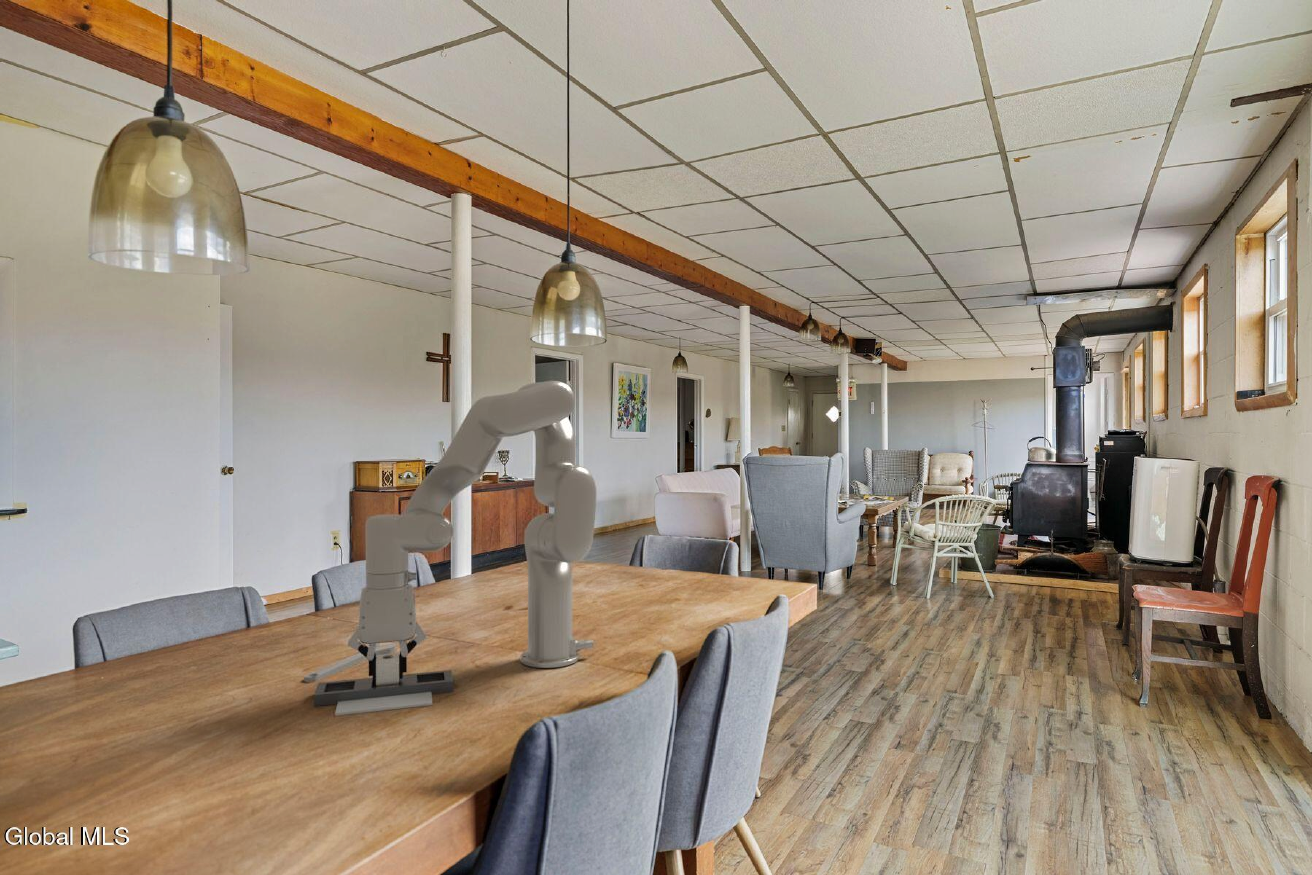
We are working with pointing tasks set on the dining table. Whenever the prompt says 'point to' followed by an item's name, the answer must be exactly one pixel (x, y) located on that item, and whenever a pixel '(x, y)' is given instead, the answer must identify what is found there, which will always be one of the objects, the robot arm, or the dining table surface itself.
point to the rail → (367, 688)
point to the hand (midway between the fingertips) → (387, 676)
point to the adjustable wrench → (347, 663)
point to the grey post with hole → (387, 670)
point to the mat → (383, 703)
